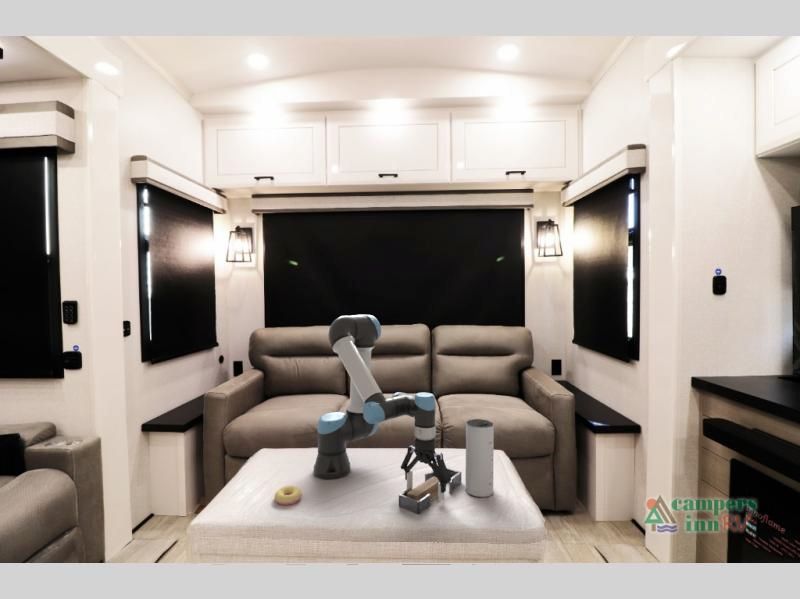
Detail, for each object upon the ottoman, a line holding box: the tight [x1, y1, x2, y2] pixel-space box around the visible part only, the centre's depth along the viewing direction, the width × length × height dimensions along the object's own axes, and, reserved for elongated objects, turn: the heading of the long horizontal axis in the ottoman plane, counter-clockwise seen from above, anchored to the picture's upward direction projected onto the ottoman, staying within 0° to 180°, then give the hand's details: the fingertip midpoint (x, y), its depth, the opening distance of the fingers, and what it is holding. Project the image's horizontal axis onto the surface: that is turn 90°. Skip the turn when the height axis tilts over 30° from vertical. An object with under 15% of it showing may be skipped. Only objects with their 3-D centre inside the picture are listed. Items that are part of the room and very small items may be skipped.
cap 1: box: [398, 487, 431, 515], centre depth 142 cm, size 9×7×4 cm
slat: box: [407, 476, 440, 501], centre depth 147 cm, size 4×16×5 cm, turn 141°
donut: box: [274, 485, 303, 506], centre depth 147 cm, size 10×5×9 cm
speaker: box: [465, 418, 495, 498], centre depth 153 cm, size 11×10×26 cm
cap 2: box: [424, 467, 462, 494], centre depth 158 cm, size 12×10×4 cm
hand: (424, 494), depth 148 cm, fingers open, 13 cm apart
